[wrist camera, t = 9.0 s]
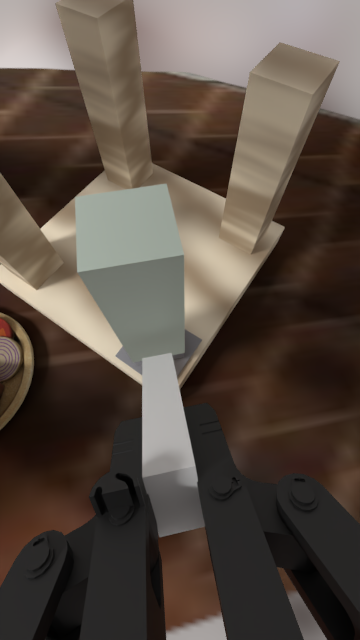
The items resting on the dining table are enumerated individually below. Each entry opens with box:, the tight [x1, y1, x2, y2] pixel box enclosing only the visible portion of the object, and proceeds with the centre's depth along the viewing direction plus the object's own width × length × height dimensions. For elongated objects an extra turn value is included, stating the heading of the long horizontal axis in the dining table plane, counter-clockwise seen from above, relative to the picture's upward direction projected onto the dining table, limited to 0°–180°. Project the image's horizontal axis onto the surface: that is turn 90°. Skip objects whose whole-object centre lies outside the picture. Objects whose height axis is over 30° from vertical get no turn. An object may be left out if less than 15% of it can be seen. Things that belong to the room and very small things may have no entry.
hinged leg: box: [75, 184, 185, 366], centre depth 15 cm, size 4×4×13 cm
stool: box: [0, 0, 339, 390], centre depth 21 cm, size 20×20×16 cm
